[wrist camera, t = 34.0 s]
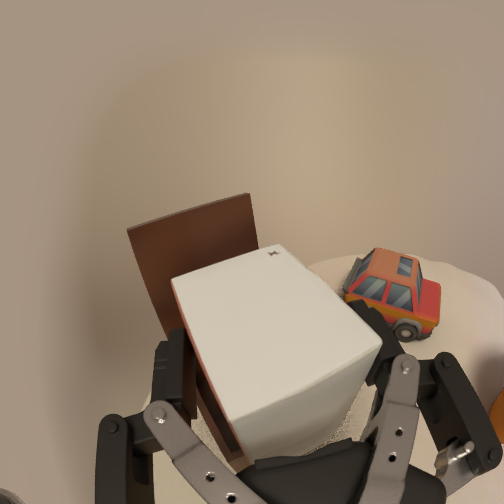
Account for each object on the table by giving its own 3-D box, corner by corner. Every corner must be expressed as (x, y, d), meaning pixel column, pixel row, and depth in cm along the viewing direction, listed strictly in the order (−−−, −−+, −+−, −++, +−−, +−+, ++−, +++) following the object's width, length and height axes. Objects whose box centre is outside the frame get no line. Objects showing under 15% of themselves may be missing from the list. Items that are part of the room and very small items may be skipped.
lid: (250, 193, 27) (246, 192, 28) (126, 230, 23) (126, 228, 23) (269, 314, 33) (266, 311, 34) (174, 353, 29) (172, 349, 30)
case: (328, 424, 27) (341, 400, 23) (237, 473, 23) (227, 462, 19) (269, 350, 38) (267, 315, 34) (190, 384, 34) (174, 353, 29)
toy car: (427, 350, 34) (452, 305, 28) (334, 320, 42) (343, 272, 36) (432, 303, 42) (450, 260, 36) (354, 279, 50) (362, 234, 44)
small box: (214, 396, 20) (167, 275, 13) (282, 368, 22) (281, 239, 15) (256, 478, 14) (226, 424, 7) (333, 439, 16) (389, 337, 9)
